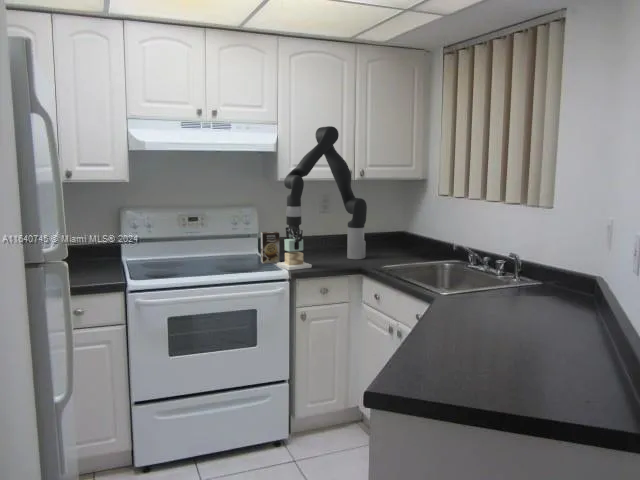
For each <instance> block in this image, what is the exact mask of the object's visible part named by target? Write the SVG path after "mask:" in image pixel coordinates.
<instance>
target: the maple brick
mask: <svg viewBox="0 0 640 480" xmlns="http://www.w3.org/2000/svg"><path fill="white" fill-rule="evenodd" d="M284 262H285V264H287V265H297V264H303V262H304V253H303V252H301V251H291V252H289V251H288V252H284Z"/></svg>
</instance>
